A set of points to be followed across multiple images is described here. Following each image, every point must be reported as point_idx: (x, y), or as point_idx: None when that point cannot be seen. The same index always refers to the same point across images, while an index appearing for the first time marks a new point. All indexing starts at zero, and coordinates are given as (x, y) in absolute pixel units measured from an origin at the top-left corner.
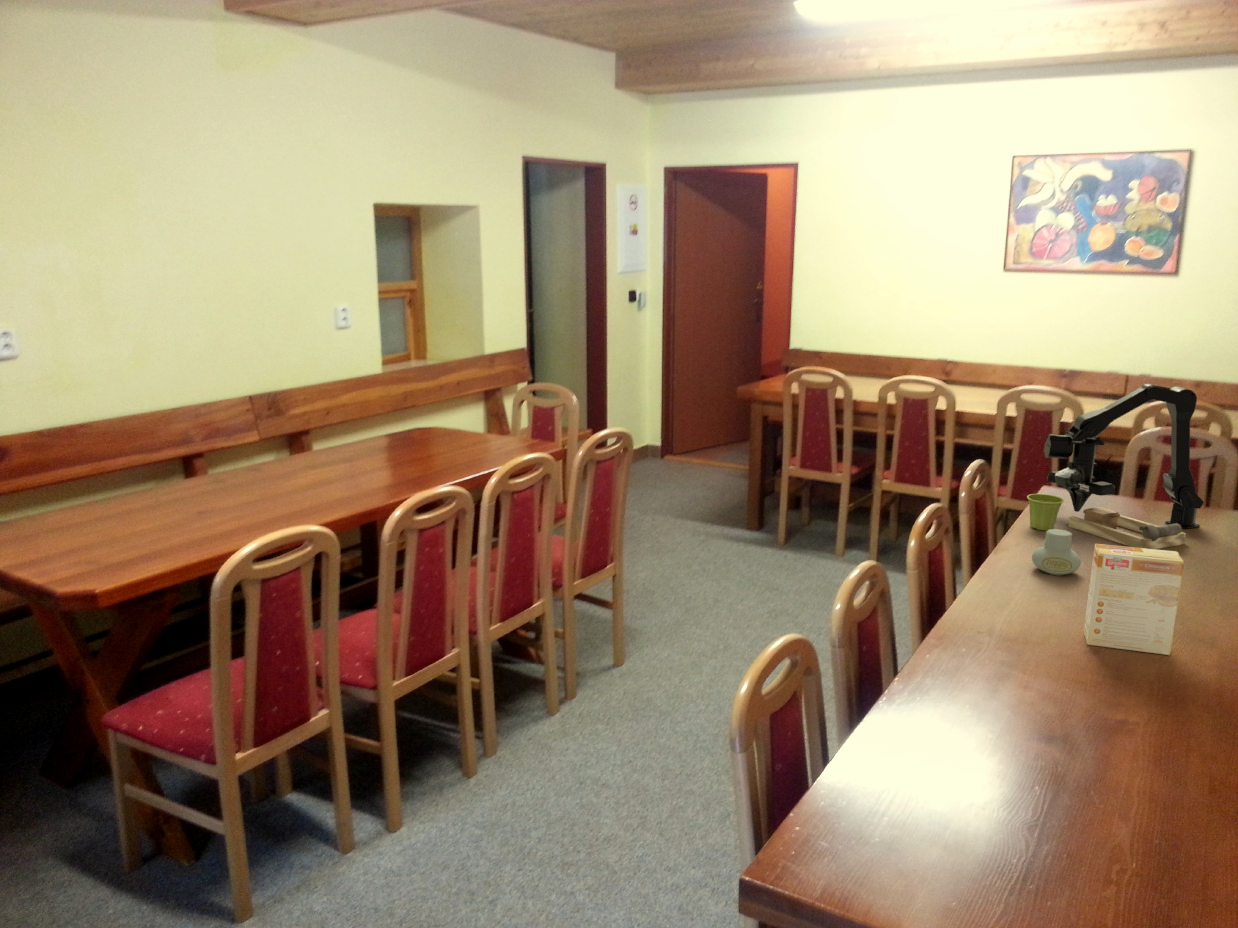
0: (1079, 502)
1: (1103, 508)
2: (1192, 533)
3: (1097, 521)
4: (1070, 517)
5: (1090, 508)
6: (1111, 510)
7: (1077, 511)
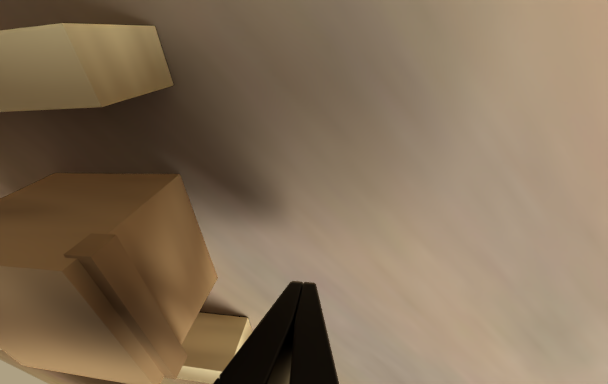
0: (223, 373)
1: (110, 373)
2: (92, 378)
3: (24, 205)
4: (53, 25)
5: (98, 319)
6: (62, 369)
7: (292, 286)
